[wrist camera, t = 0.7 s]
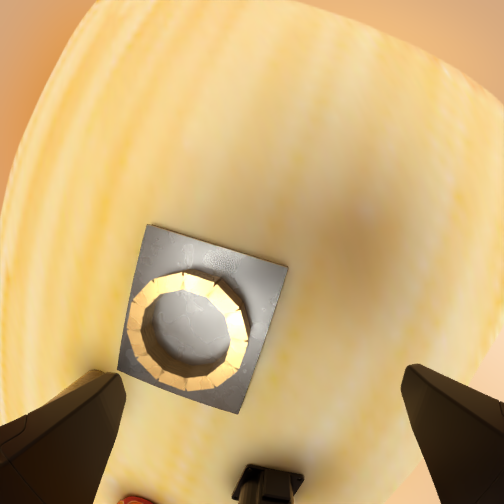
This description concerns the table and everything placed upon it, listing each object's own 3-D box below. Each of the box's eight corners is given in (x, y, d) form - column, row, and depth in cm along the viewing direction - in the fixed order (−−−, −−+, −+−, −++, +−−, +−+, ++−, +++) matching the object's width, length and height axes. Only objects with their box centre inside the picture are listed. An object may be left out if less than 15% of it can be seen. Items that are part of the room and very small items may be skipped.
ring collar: (239, 408, 26) (235, 429, 23) (121, 365, 27) (104, 380, 23) (287, 266, 25) (290, 272, 21) (151, 224, 26) (134, 223, 22)
